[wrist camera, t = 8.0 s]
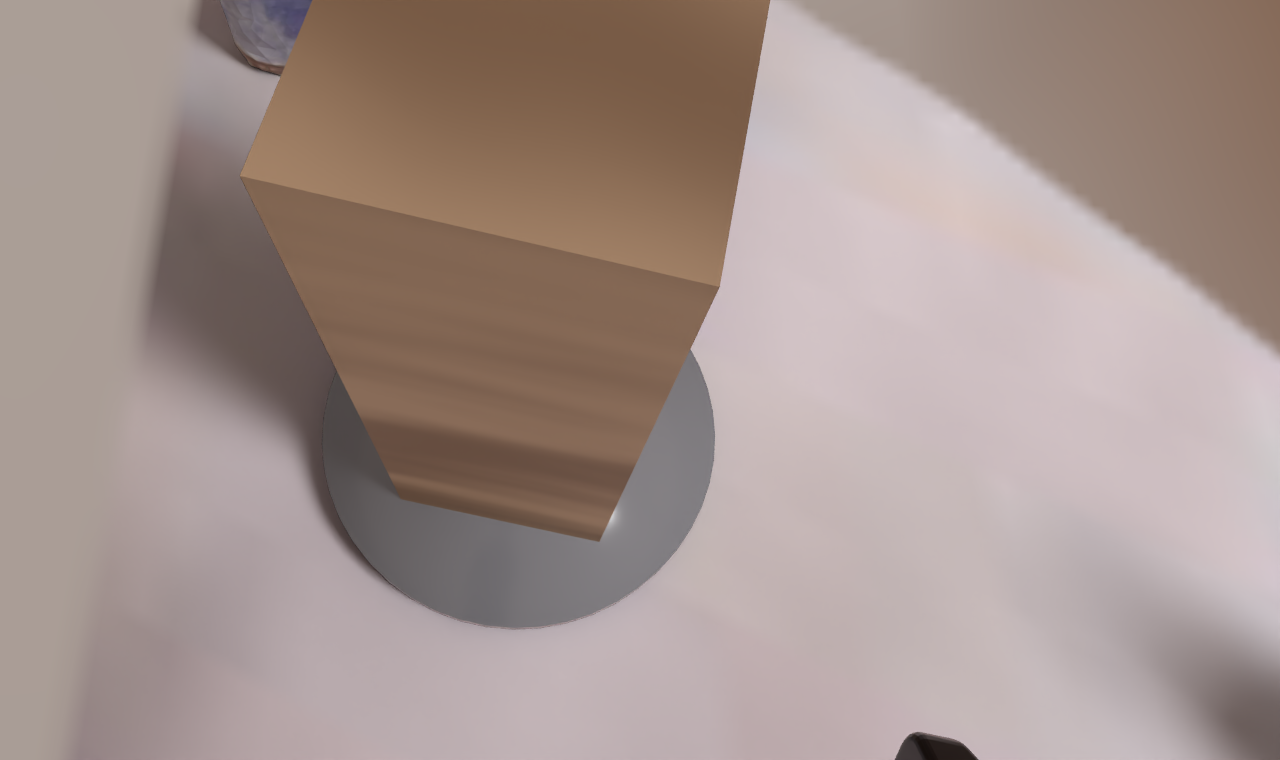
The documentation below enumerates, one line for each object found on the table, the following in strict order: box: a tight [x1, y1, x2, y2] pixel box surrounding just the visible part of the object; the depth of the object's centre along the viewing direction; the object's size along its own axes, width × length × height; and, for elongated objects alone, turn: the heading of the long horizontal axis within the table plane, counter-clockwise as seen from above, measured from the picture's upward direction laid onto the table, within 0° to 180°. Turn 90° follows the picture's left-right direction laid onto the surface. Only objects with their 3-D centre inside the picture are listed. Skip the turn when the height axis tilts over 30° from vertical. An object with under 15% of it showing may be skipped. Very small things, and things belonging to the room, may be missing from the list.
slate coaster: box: [322, 349, 715, 629], centre depth 22 cm, size 9×9×1 cm
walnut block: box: [240, 0, 770, 542], centre depth 15 cm, size 4×4×13 cm
